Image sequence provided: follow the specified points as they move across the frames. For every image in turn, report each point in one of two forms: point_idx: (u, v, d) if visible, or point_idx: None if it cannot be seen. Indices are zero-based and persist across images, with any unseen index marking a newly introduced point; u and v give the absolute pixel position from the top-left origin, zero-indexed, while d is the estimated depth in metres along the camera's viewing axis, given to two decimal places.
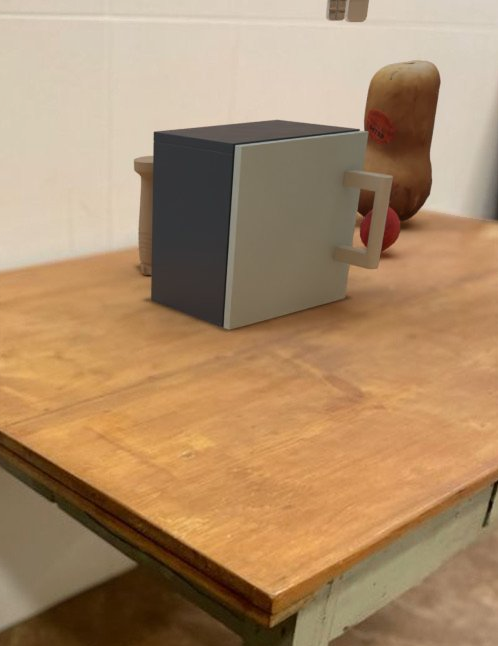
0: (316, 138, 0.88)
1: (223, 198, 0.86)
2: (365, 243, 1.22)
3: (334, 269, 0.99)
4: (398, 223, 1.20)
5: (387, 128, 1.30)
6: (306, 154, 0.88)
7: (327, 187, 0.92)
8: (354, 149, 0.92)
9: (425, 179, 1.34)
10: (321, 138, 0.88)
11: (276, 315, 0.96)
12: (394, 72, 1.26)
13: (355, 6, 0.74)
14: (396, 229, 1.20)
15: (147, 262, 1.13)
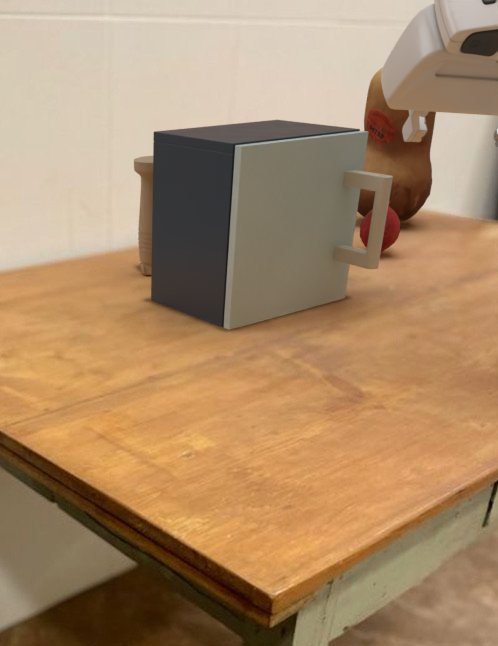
0: (316, 138, 0.88)
1: (223, 198, 0.86)
2: (365, 243, 1.22)
3: (334, 269, 0.99)
4: (398, 223, 1.20)
5: (387, 128, 1.30)
6: (306, 154, 0.88)
7: (327, 187, 0.92)
8: (354, 149, 0.92)
9: (425, 179, 1.34)
10: (321, 138, 0.88)
11: (276, 315, 0.96)
12: None
13: None
14: (396, 229, 1.20)
15: (147, 262, 1.13)
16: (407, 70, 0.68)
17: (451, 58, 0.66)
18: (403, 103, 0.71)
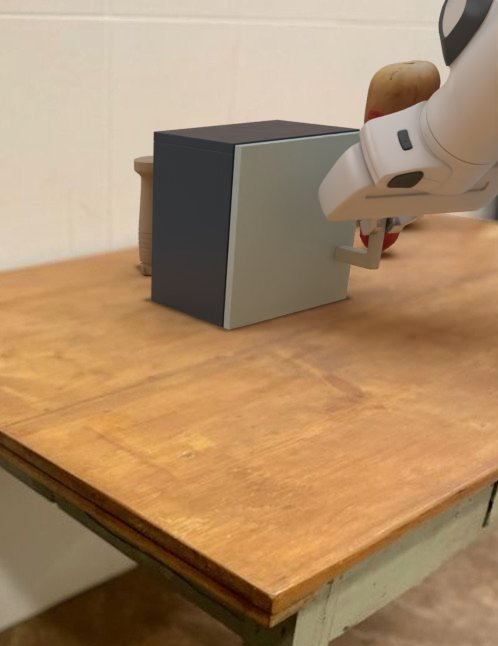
0: (317, 138, 0.88)
1: (223, 198, 0.86)
2: (365, 243, 1.22)
3: (335, 269, 0.99)
4: None
5: None
6: (306, 154, 0.88)
7: None
8: None
9: None
10: (322, 138, 0.88)
11: (276, 315, 0.96)
12: (394, 72, 1.26)
13: None
14: None
15: (147, 262, 1.13)
16: (343, 197, 0.81)
17: (379, 189, 0.80)
18: (339, 217, 0.85)
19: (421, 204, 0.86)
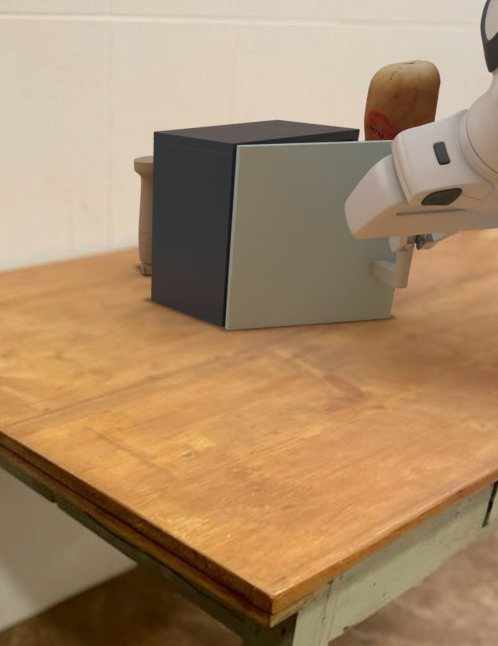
0: (343, 143, 0.84)
1: (223, 198, 0.86)
2: None
3: (373, 285, 0.93)
4: None
5: (387, 128, 1.30)
6: (329, 159, 0.85)
7: None
8: None
9: None
10: (350, 144, 0.84)
11: (291, 323, 0.93)
12: (394, 72, 1.26)
13: None
14: None
15: (147, 262, 1.13)
16: (372, 214, 0.74)
17: (412, 207, 0.73)
18: (367, 235, 0.78)
19: (456, 220, 0.79)
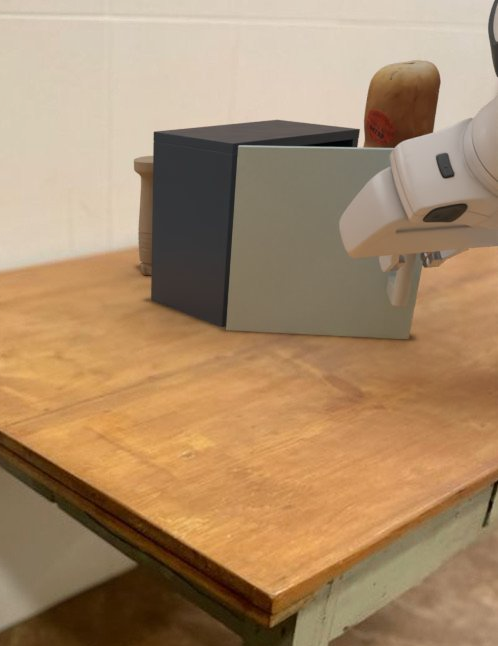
0: (352, 149, 0.81)
1: (223, 198, 0.86)
2: None
3: (388, 301, 0.88)
4: None
5: (387, 128, 1.30)
6: (335, 165, 0.82)
7: None
8: None
9: None
10: (360, 150, 0.80)
11: (294, 331, 0.91)
12: (394, 72, 1.26)
13: None
14: None
15: (147, 262, 1.13)
16: (370, 232, 0.68)
17: (413, 224, 0.67)
18: (364, 254, 0.72)
19: (460, 237, 0.73)
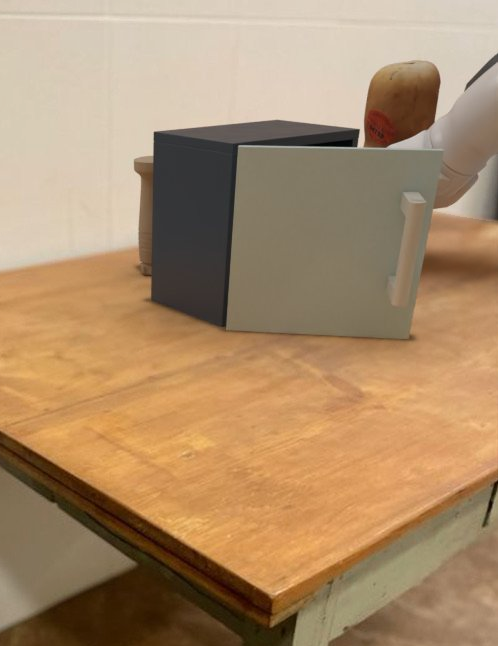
0: (352, 149, 0.81)
1: (223, 198, 0.86)
2: None
3: (388, 301, 0.88)
4: None
5: (387, 128, 1.30)
6: (335, 165, 0.82)
7: (372, 206, 0.83)
8: (418, 168, 0.80)
9: None
10: (360, 150, 0.80)
11: (294, 331, 0.91)
12: (394, 72, 1.26)
13: None
14: None
15: (147, 262, 1.13)
16: None
17: None
18: None
19: None
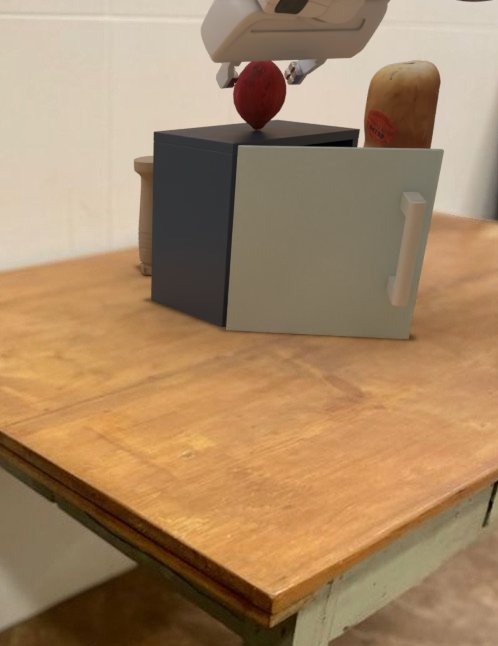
0: (352, 149, 0.81)
1: (223, 198, 0.86)
2: (240, 112, 0.91)
3: (388, 301, 0.88)
4: (282, 81, 0.89)
5: (387, 128, 1.30)
6: (335, 165, 0.82)
7: (372, 206, 0.83)
8: (418, 168, 0.80)
9: None
10: (360, 150, 0.80)
11: (294, 331, 0.91)
12: (394, 72, 1.26)
13: None
14: (280, 89, 0.88)
15: (147, 262, 1.13)
16: (230, 29, 0.78)
17: (266, 17, 0.77)
18: (225, 57, 0.81)
19: (302, 44, 0.84)
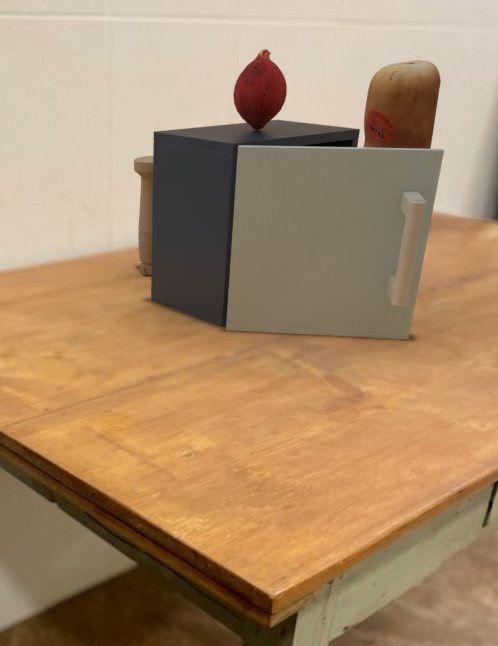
0: (352, 149, 0.81)
1: (223, 198, 0.86)
2: (240, 112, 0.91)
3: (388, 301, 0.88)
4: (282, 82, 0.89)
5: (387, 128, 1.30)
6: (335, 165, 0.82)
7: (372, 206, 0.83)
8: (418, 168, 0.80)
9: None
10: (360, 150, 0.80)
11: (294, 331, 0.91)
12: (394, 72, 1.26)
13: None
14: (280, 89, 0.88)
15: (147, 262, 1.13)
16: None
17: None
18: None
19: None
